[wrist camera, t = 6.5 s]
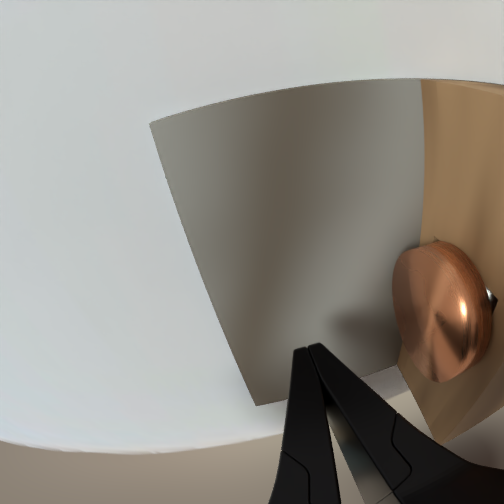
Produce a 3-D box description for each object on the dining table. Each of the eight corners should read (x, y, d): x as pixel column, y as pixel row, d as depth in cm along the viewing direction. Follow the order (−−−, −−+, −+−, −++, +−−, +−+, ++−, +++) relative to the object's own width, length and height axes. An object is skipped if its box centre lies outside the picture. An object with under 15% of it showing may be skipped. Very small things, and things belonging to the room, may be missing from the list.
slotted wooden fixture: (549, 93, 7) (638, 134, 2) (508, 303, 15) (555, 362, 10) (151, 121, 7) (46, 212, 2) (254, 400, 15) (273, 502, 10)
